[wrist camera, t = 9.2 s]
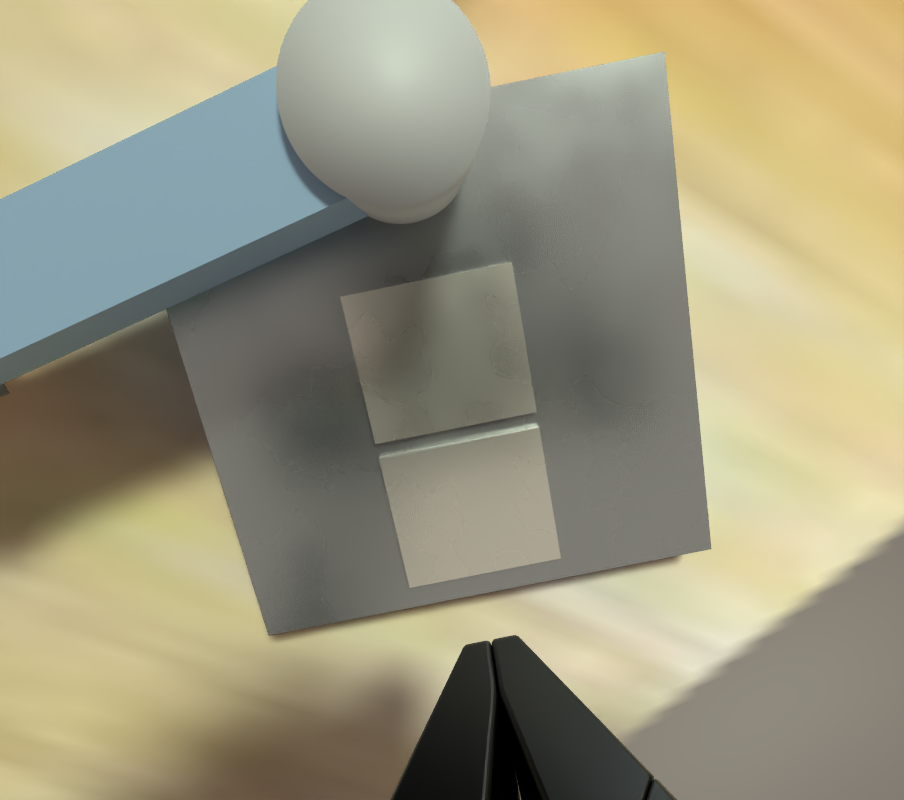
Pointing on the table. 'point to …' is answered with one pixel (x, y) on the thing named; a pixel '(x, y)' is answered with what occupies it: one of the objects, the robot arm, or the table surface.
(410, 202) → the lever
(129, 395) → the table surface
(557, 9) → the table surface
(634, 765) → the robot arm
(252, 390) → the lid
